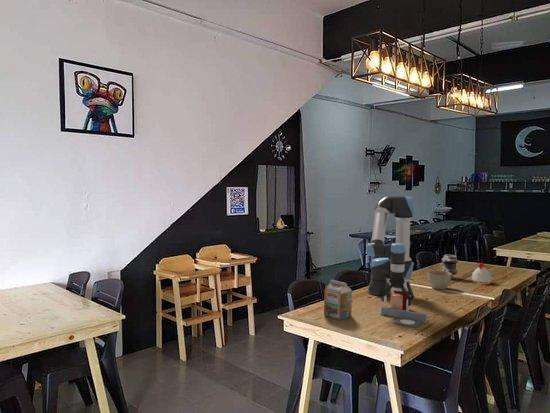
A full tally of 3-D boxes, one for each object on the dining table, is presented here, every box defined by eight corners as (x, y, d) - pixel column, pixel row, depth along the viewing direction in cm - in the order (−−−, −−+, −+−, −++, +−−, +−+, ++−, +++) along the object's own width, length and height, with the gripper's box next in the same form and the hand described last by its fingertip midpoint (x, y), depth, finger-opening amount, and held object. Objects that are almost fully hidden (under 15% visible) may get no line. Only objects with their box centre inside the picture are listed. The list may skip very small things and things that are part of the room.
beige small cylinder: (388, 313, 238) (389, 295, 238) (392, 310, 244) (392, 293, 243) (400, 315, 235) (400, 297, 234) (403, 312, 240) (404, 294, 240)
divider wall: (380, 314, 235) (380, 307, 235) (382, 313, 238) (382, 306, 238) (426, 322, 222) (426, 315, 222) (427, 321, 225) (427, 313, 225)
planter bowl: (451, 286, 304) (452, 271, 304) (450, 291, 290) (451, 276, 289) (427, 284, 311) (428, 269, 311) (425, 289, 296) (426, 273, 296)
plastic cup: (397, 304, 256) (398, 284, 256) (414, 308, 249) (415, 288, 248) (388, 308, 249) (388, 287, 248) (405, 312, 241) (406, 291, 240)
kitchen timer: (467, 282, 321) (468, 262, 320) (475, 279, 330) (476, 260, 329) (486, 285, 311) (487, 265, 310) (494, 282, 320) (495, 263, 319)
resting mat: (392, 323, 221) (392, 322, 221) (398, 317, 230) (398, 317, 230) (416, 327, 214) (416, 326, 214) (421, 322, 224) (421, 321, 224)
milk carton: (323, 315, 232) (324, 281, 231) (335, 311, 240) (336, 278, 239) (339, 320, 225) (340, 284, 224) (351, 316, 232) (352, 281, 231)
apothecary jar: (459, 280, 327) (460, 256, 326) (442, 279, 328) (443, 256, 328) (455, 276, 338) (455, 254, 338) (439, 276, 340) (439, 253, 339)
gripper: (374, 269, 241) (373, 307, 242) (417, 275, 229) (416, 314, 230) (378, 267, 248) (377, 304, 249) (421, 272, 235) (419, 311, 236)
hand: (396, 309), depth 239 cm, fingers open, 12 cm apart
